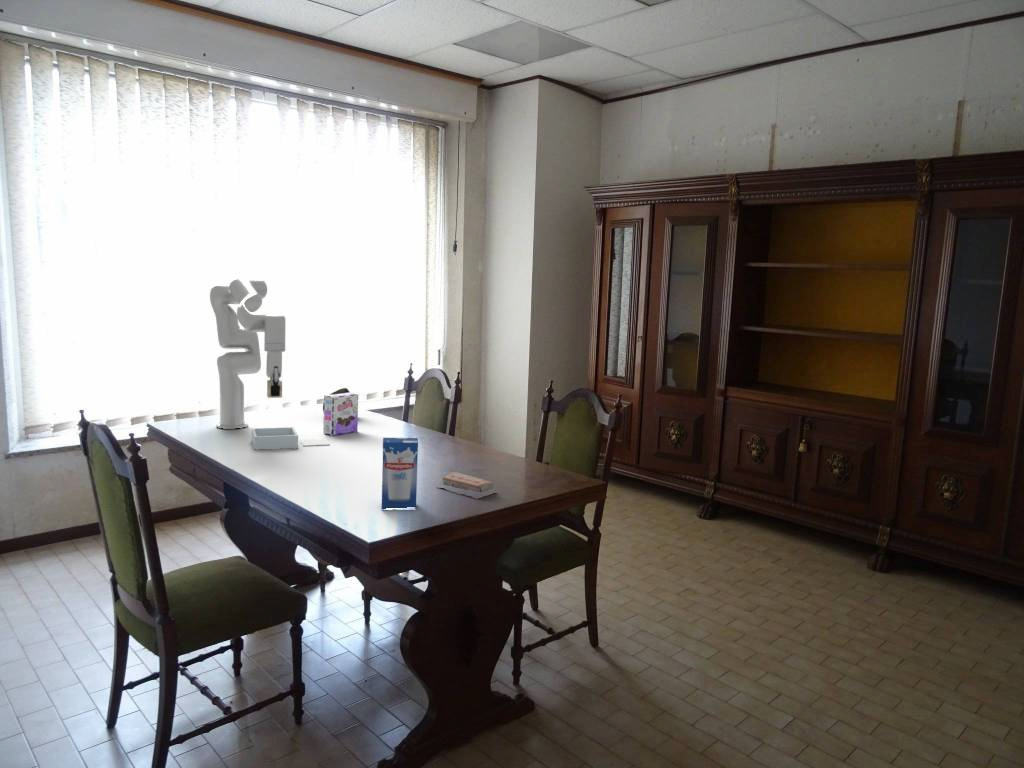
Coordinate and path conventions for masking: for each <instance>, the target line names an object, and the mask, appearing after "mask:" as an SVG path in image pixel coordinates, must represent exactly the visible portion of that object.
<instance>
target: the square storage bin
mask: <svg viewBox="0 0 1024 768" xmlns="http://www.w3.org/2000/svg"><path fill="white" fill-rule="evenodd" d="M251 443H252V445H254V446H253V449H254V450H255V449H256V450H255V451H258V450H257V449H272V450H281V449H280V448H294V449H299V434H298V432H297V431H296V429H295V427H293V426H289V427H288V426H287V427H259V428H255V427H254V428H251Z"/></svg>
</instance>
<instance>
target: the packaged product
mask: <svg viewBox="0 0 1024 768" xmlns="http://www.w3.org/2000/svg"><path fill="white" fill-rule="evenodd" d="M442 483H444V485H447V486H452V487H455V488H460V489H464V490H472V491H476V492H481V493H482V492H485V491H488V490H490V489H492V488H493V489H494V482H493V481H490V480H487V479H483V478H480V477H475V476H473V475H467V474H464V473H460V472H455V471H451V472H449V473H447V474H446V475H445V476H443V477H442Z"/></svg>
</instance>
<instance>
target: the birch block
mask: <svg viewBox="0 0 1024 768" xmlns="http://www.w3.org/2000/svg"><path fill="white" fill-rule="evenodd" d="M266 385H267V386H266V393H267V394H266V396H267V398H268V399H276V398H277V399H279V398H283V381H282V380H281V379H279V385H280V396H271V385H272V380H270V379H267V381H266Z"/></svg>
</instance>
